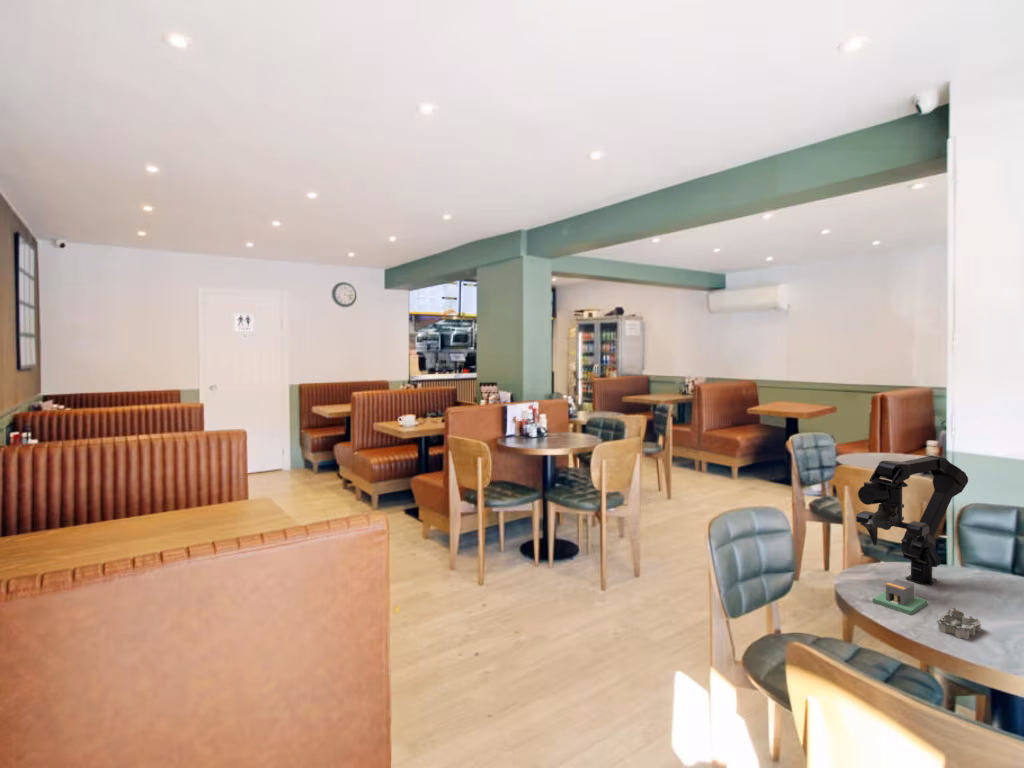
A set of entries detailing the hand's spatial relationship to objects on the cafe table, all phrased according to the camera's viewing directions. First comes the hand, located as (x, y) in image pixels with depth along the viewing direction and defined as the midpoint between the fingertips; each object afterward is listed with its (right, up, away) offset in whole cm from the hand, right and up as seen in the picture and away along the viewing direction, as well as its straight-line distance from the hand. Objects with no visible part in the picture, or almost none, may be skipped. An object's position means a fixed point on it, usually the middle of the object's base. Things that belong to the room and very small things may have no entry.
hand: (891, 549), depth 177 cm
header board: (-5, -13, -11) cm, 18 cm away
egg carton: (0, -14, -27) cm, 30 cm away
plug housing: (-5, -12, -11) cm, 17 cm away
